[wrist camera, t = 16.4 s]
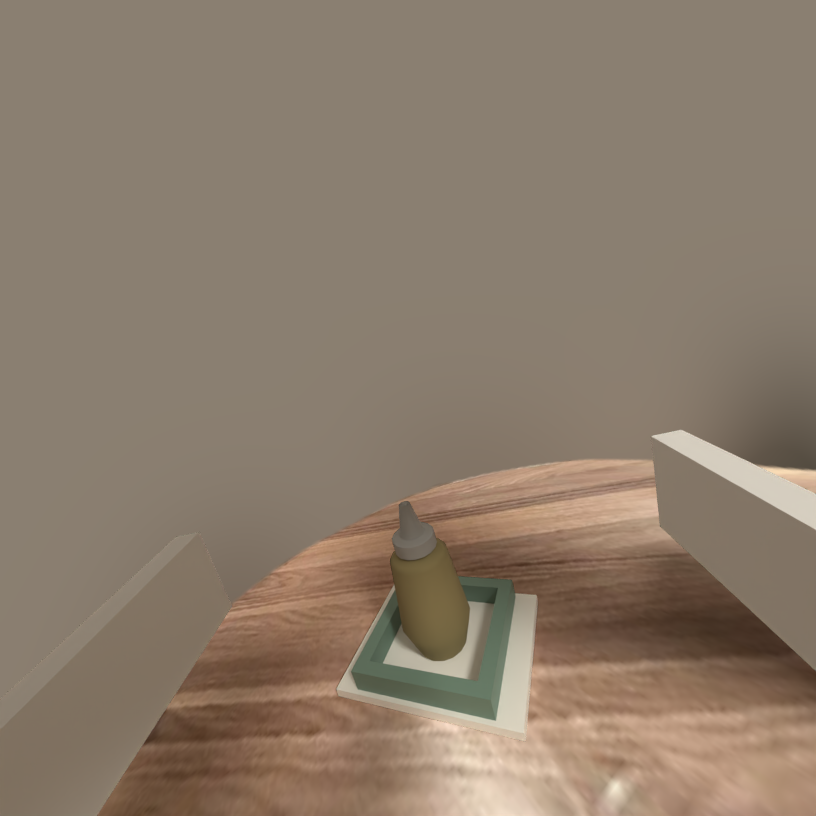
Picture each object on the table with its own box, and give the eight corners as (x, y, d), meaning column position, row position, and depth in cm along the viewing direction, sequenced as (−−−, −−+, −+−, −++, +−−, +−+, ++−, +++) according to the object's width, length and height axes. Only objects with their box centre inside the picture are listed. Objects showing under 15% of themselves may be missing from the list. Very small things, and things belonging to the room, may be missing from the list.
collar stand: (537, 601, 47) (533, 578, 46) (525, 741, 33) (518, 711, 32) (396, 589, 55) (390, 569, 55) (338, 696, 41) (329, 671, 41)
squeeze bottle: (399, 631, 47) (359, 504, 42) (456, 602, 49) (424, 477, 44) (424, 686, 39) (378, 537, 35) (490, 648, 41) (455, 504, 37)
